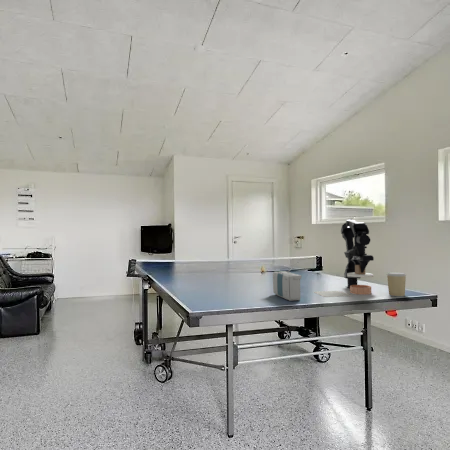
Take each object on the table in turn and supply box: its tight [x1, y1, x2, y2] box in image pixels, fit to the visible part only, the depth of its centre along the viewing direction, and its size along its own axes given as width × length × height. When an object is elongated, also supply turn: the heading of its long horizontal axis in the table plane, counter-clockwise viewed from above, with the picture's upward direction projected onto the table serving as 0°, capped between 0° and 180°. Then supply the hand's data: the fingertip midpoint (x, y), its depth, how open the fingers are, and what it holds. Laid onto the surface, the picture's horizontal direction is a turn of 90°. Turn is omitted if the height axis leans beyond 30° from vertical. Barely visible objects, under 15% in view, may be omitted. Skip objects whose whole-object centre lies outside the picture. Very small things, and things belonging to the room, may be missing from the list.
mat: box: [313, 290, 353, 298], centre depth 195 cm, size 16×16×1 cm
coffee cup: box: [386, 271, 407, 298], centre depth 191 cm, size 9×9×12 cm
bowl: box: [349, 284, 372, 295], centre depth 197 cm, size 11×11×4 cm
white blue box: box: [272, 261, 302, 302], centre depth 189 cm, size 21×8×20 cm, turn 14°
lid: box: [347, 265, 375, 278], centre depth 198 cm, size 14×14×6 cm
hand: (360, 272), depth 197 cm, fingers closed on lid, 4 cm apart
